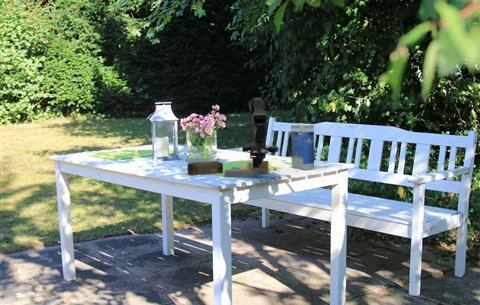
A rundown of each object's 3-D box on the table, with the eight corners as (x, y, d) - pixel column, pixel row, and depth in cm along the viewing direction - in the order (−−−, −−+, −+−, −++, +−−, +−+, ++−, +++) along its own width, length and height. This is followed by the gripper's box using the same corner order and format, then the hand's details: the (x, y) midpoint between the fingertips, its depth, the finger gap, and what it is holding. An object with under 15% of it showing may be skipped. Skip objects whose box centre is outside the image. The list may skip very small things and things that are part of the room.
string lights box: (314, 169, 329) (314, 124, 325) (304, 170, 325) (303, 124, 322) (301, 166, 340) (300, 123, 337) (290, 167, 336) (290, 123, 333)
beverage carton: (223, 173, 321) (223, 161, 320) (191, 176, 314) (190, 164, 313) (218, 171, 328) (218, 160, 328) (186, 174, 321) (186, 162, 320)
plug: (261, 173, 318) (261, 160, 317) (268, 173, 316) (268, 160, 315) (259, 174, 314) (258, 161, 313) (265, 174, 312) (265, 161, 312)
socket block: (233, 173, 319) (233, 166, 318) (260, 174, 313) (260, 167, 312) (224, 176, 308) (224, 169, 307) (252, 178, 302) (252, 171, 301)
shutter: (242, 168, 313) (242, 161, 312) (252, 169, 311) (252, 162, 310) (238, 170, 307) (238, 163, 307) (248, 170, 305) (248, 163, 305)
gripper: (238, 137, 300) (238, 166, 302) (271, 137, 293) (272, 167, 295) (245, 135, 310) (246, 163, 312) (278, 135, 303) (278, 164, 305)
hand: (260, 165), depth 306 cm, fingers closed
